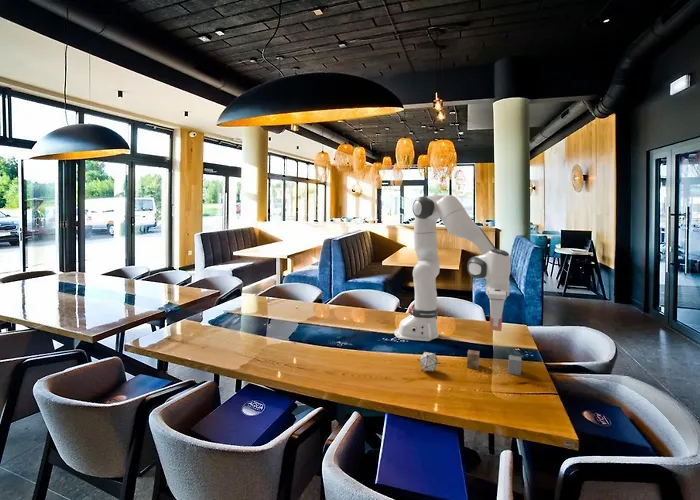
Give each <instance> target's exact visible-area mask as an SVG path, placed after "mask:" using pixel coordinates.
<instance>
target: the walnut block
mask: <svg viewBox="0 0 700 500" xmlns="http://www.w3.org/2000/svg"><path fill="white" fill-rule="evenodd" d="M466 357H467V358H466V368H469V369H476V370H478V369H479V366H480V364H479V363H480V350H473V349H468V350H467V356H466Z"/></svg>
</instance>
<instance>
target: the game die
mask: <svg viewBox="0 0 700 500" xmlns="http://www.w3.org/2000/svg"><path fill="white" fill-rule="evenodd" d="M436 354H437V352H435V353H434V352H433V353H432V352H429V351H428V352H427V351H425V350H423V353H422V354H421V357H420V358H419V359H418V358H417V359H416V360H417V361H418V362H419V364H420V367H421V370H420V372H423V371H426V372H427V371H428V372H432V374H435V370H436V368H438V365H440V364H442V363H441V362H439V360H438V357H437V355H436Z"/></svg>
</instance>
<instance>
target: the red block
mask: <svg viewBox="0 0 700 500" xmlns="http://www.w3.org/2000/svg"><path fill="white" fill-rule="evenodd" d="M489 312H490V313H489V331H496V332H502V326H503V316H502V317H501V319H499V321H498V326H493V318H491V311H489Z"/></svg>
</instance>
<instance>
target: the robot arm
mask: <svg viewBox="0 0 700 500" xmlns="http://www.w3.org/2000/svg"><path fill="white" fill-rule="evenodd" d="M466 210H467V209H465V207H464V206H463V204H462V203H461V201H459V199H458V198H457V197H456V196H455V195H452V194H448V195H447V194H445V195H442V194H440V195H438V194H435V195H427V196H419V197H418V198H416V199H414V201H413V204H412V213H413V215H414V224H413V237H414V238H413V241H414V251H415V254H416V260H417V261H416V262H417V263H416V264H415V265H414V267H413V269H412V278H413V279H412V280H413V288H414V306H413V307H412V306H409V307H408V311H409V313H410V314H409V315H407V316H406V317H404V318H402V319H401V320H400V322H399V325H398V328H396V329H395V330H394V336H395V337H396V338H398V339H400V340H409V341H421V342H424V341H425V342H430V341H432V340H434V339H437V338H438V337H440V334H439V331H438V324H437V323H438V321H437V320H438V308H437V307H438V306H437V305H438V304H437V302H438V299H437V298H438V292H437V282H436V281H437V280H436V278H437V276H438V275H439V274H440V270H441V269H440V259H439V252H438V244H437V243H438V242H437V241H438V239H437V238H438V235H437V221H438V220H439V219H440V220H441V221H442V223H443V225H444V227H445V229H446V231H448V233H450V234H451V235H452V236H454V237H456V238H461V239H464V240H467V241H469V242H471V243H472V244H474V245H475V246H476V248H477V249H478V250H479V252H480V254H479V255H475V256H472V257H470V258H469V259H468V262H467V266H466V267H467V272H468V274H469V276H470V277H471V278H473V279H478V280H482V279H483V280H484V279H485V281H486V283H485V294H486V295H487V297H488V299H489V308H490V311H489V312H491V318H493V326H498V321H499V319H501V317H502V318H503V311H504V305H505V301H506V300H507V297H509V296H510V286H511V285H510V284H511V282H510V275H511V266H512V265H511V264H512V263H511V255H510V253H509V252H507V251H506V250H504V249H500V248H499V249H498V248H496V247H495V245H494V244H493V242H492V241H491V240H490V239H489V237H488V235H487V233H485V232H484V230H483V229H482V228H481V227H480V226H479V225H478V224H477V223H476V222H475V221H474V220H473V219H472V218H471V217H470V215H469V213H468V212H467V211H466Z"/></svg>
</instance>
